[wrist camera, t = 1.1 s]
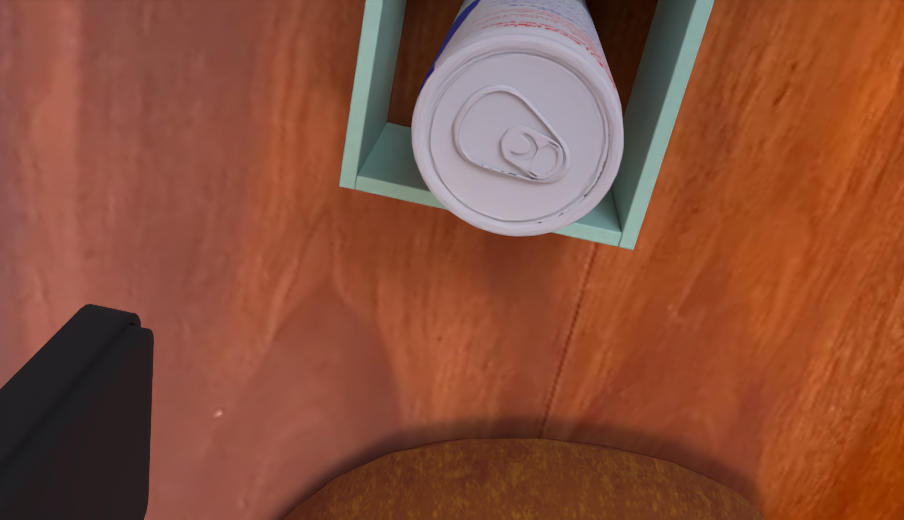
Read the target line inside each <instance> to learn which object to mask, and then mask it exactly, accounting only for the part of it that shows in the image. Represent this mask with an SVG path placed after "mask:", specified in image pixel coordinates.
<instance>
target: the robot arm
mask: <svg viewBox="0 0 904 520" xmlns="http://www.w3.org/2000/svg"><path fill="white" fill-rule="evenodd" d="M153 347H154V338H153V333H152V331H151V330H150V329H147V328H142V327H141V322H140V319H139V316H138V315H137V314H135V313H131V312H126V311H121V310H116V309H112V308H107V307H102V306H97V305H93V304H87V305H85V306H84V307H82V308H81V309H80V310H79V311H78V312H77V313H76V314H75V315H74V316H73V317H72V318H71V319H70V320H69V321H68V322H67V323H66V324H65V325H64V326H63V327H62V328H61V329H60V330H59V331H58V332H57V333H56V334H55V335H54V336H53V337H52V338H51V339H50V340H49V341H48V342H47V343H46V344H45V345H44V346H43V347H42V348H41V349H40V350H39V351H38V352H37V353H36V354H35V355H34V356H33V357H32V358H31V359H30V360H29V361H28V362H27V363H26V364H25V365H24V366H23V367H22V368H21V369H20V370H19V371H18V372H17V373H16V374H15V375H14V376H13V377H12V378H11V379H10V380H9V381H8V382H7V383H6V384H5V385H4V386H3V387H2V388H1V389H0V520H144V517H145V514H146V510H147V505H148V494H149V465H150V435H151V406H152V377H153Z"/></svg>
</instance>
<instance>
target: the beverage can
mask: <svg viewBox="0 0 904 520" xmlns="http://www.w3.org/2000/svg"><path fill="white" fill-rule="evenodd" d="M411 129H412V147H413V152H414V158H415V161H416V163H417V166H418V169H419V171H420V174H421V176H422V178H423V180H424V182H425V183H426V185H427V186H428V188H429V189H430V191H431V192H432V193H433V194H434V195H435V197H436V198H437V199H438V200H439V201H440V202H441V203H442V204H443V205H444V206H445V207H446V208H447V209H448V210H449V211H451V212H452V213H453V214H455V215H456V216H458V217H459V218H461V219H462V220H464V221H466V222H467V223H469V224H471V225H473V226H475V227H477V228H480V229H483V230H486V231H489V232H492V233H496V234H501V235H506V236H535V235H540V234H545V233H549V232H553V231H556V230H559V229H562V228H564V227H566V226H568V225H570V224H572V223H573V222H575V221H577V220H578V219H580V218H582V217H583V216H585V215H586V214H587V213H588V212H590V211H591V210H592V209H593V208H594V207H595V206H596V205H597V204H598V203H599V202H600V201H601V199H602V198H603V197H604V196H605V194H606V193H607V192H608V190H609V189H610V187H611V185H612V183H613V181H614V179H615V177H616V175H617V173H618V170H619V166H620V162H621V158H622V153H623V147H624V128H623V118H622V109H621V103H620V99H619V95H618V92H617V89H616V86H615V84H614V81H613V78H612V75H611V72H610V69H609V66H608V64H607V61H606V58H605V55H604V52H603V49H602V46H601V44H600V41H599V38H598V35H597V32H596V29H595V26H594V24H593V21H592V18H591V15H590V12H589V9H588V7H587V4H586V2H585V0H464V1H463V3H462V5H461V7H460V10H459V12H458V14H457V16H456V18H455V20H454V22H453V24H452V26H451V28H450V30H449V32H448V34H447V36H446V38H445V40H444V42H443V44H442V46H441V48H440V50H439V52H438V54H437V56H436V58H435V60H434V62H433V64H432V66H431V68H430V70H429V72H428V74H427V76H426V78H425V80H424V82H423V84H422V86H421V88H420V91H419V94H418V98H417V101H416V105H415V108H414V112H413V117H412V126H411Z"/></svg>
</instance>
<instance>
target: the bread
mask: <svg viewBox="0 0 904 520" xmlns="http://www.w3.org/2000/svg"><path fill="white" fill-rule="evenodd" d="M284 520H763V517H762V515H761V512H760V511H759V510H758V509H756V508H755V507H754V506H753V505H752V504H750V503H749V502H748V501H747V500H746V499H745V498H743V497H742V496H741V495H740V494H739V493H737V492H736V491H735V490H733V489H731V488H729V487H727V486H725V485H723V484H721V483H719V482H717V481H715V480H713V479H711V478H709V477H707V476H705V475H702V474H700V473H698V472H695V471H693V470H690V469H688V468H685V467H683V466H680V465H678V464H676V463H673V462H671V461H667V460H663V459H659V458H655V457H651V456H646V455H642V454H638V453H634V452H630V451H626V450H622V449H618V448H614V447H609V446H605V445H596V444H586V443H577V442H568V441H559V440H550V439H458V440H447V441H440V442H436V443H431V444H427V445H423V446H419V447H415V448H410V449H406V450H402V451H398V452H394V453H389V454H387V455H385V456H383V457H381V458H378V459H376V460H374V461H372V462H369V463H367V464H365V465H363V466H360V467H358V468H356V469H354V470H352V471H349V472H347V473H345V474H343V475H340V476H338V477H336V478H335V479H333V480H332V481H331V482H330V483H328V484H327V485H326V486H324V487H323V488H322V489H320V490H319V491H318V492H316V493H315V494H314V495H312V496H311V497H310V498H308V499H307V500H306V501H305V502H303V503H302V504H301V505H299V506H298V507H297V508H295V509H294V510H293V511H292V512H291V513H290V514H289V515H288V516H287V517H286V518H285V519H284Z"/></svg>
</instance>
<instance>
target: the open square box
mask: <svg viewBox="0 0 904 520" xmlns="http://www.w3.org/2000/svg"><path fill="white" fill-rule="evenodd" d="M406 3H407V0H366V2H365V9H364V15H363V22H362V29H361V36H360V43H359V50H358V57H357V64H356V71H355V77H354V84H353V91H352V98H351V105H350V112H349V119H348V126H347V133H346V139H345V146H344V153H343V160H342V167H341V174H340V181H339V186H340V187H345V188H349V189H354V188H355V190H359V191H363V192H368V193H373V194H377V195H382V196H386V197H391V198H396V199H400V200H405V201H409V202H414V203H419V204H423V205H428V206H432V207H437V208H442V209H446V210H448V209H447V208H446V207H445V206H444V205H443V204H442V203H441V202H440V201H439V200H438V199H437V198H436V197H435V195H434V194H433V193H432V192H431V191H430V189H429V188H428V186H427V185H426V183H425V182H424V180H423V178H422V176H421V174H420V171H419V169H418V166H417V163H416V161H415V158H414V152H413V147H412V129H411V127H407V126H402V125H398V124H393V123H387V117H388V111H389V105H390V99H391V93H392V87H393V81H394V75H395V69H396V63H397V57H398V51H399V45H400V39H401V33H402V27H403V21H404V15H405V9H406ZM713 4H714V0H658V3H657V6H656V10H655V13H654V16H653V20H652V23H651V26H650V30H649V33H648V37H647V40H646V43H645V47H644V50H643V53H642V57H641V60H640V64H639V67H638V70H637V74H636V77H635V80H634V84H633V87H632V91H631V94H630V97H629V101H628V104H627V107H626V111H625V114H624V118H623V128H624V147H623V153H622V158H621V162H620V166H619V170H618V173H617V175H616V177H615V179H614V181H613V183H612V185H611V187H610V189H609V190H608V192H607V193H606V194H605V196H604V197H603V198H602V199H601V201H600V202H599V203H598V204H597V205H596V206H595V207H594V208H593V209H592V210H591V211H590V212H588V213H587V214H586V215H585V216H583V217H582V218H580V219H578V220H577V221H575V222H573V223H572V224H570V225H568V226H566V227H564V228H562V229H559V230H556V231H553V232H552V233H557V234H561V235H566V236H570V237H575V238H580V239H584V240H589V241H593V242H598V243H603V244H607V245H612V246H619V247H621V248H626V249H630V250H633V249H634V247H635V244H636V240H637V237H638V234H639V231H640V228H641V225H642V222H643V219H644V216H645V213H646V210H647V207H648V204H649V200H650V197H651V194H652V191H653V188H654V185H655V182H656V179H657V176H658V173H659V170H660V167H661V164H662V160H663V157H664V154H665V151H666V148H667V145H668V142H669V139H670V136H671V133H672V130H673V127H674V124H675V120H676V117H677V114H678V111H679V108H680V105H681V102H682V99H683V96H684V93H685V90H686V87H687V84H688V80H689V77H690V74H691V71H692V68H693V65H694V62H695V59H696V56H697V53H698V50H699V47H700V44H701V40H702V37H703V34H704V31H705V28H706V25H707V22H708V19H709V16H710V13H711V10H712V7H713ZM386 123H387V124H386Z"/></svg>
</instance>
